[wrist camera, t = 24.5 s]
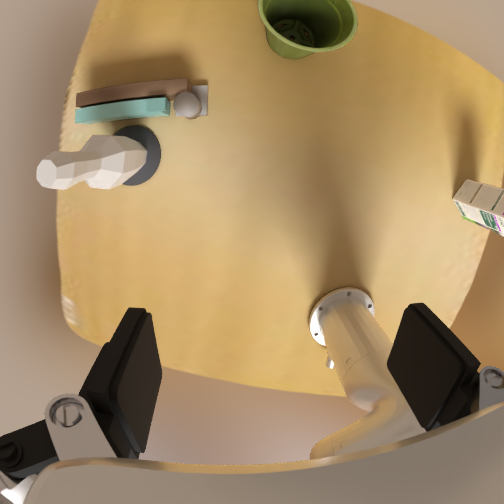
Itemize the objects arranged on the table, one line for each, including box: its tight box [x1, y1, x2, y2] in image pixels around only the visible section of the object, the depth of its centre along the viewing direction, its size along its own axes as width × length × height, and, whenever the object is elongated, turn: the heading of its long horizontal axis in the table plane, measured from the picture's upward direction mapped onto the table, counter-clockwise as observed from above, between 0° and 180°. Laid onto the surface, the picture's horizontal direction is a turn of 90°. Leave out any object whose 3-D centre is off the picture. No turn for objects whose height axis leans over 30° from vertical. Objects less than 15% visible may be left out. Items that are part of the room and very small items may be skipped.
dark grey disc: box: [114, 126, 161, 186], centre depth 39 cm, size 9×9×1 cm
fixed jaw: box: [76, 78, 208, 119], centre depth 33 cm, size 5×18×6 cm, turn 88°
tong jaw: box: [75, 97, 170, 124], centre depth 33 cm, size 2×14×6 cm, turn 87°
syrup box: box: [452, 179, 504, 236], centre depth 37 cm, size 6×6×14 cm
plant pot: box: [258, 0, 358, 59], centre depth 29 cm, size 12×12×11 cm
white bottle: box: [37, 135, 147, 190], centre depth 28 cm, size 6×6×22 cm
